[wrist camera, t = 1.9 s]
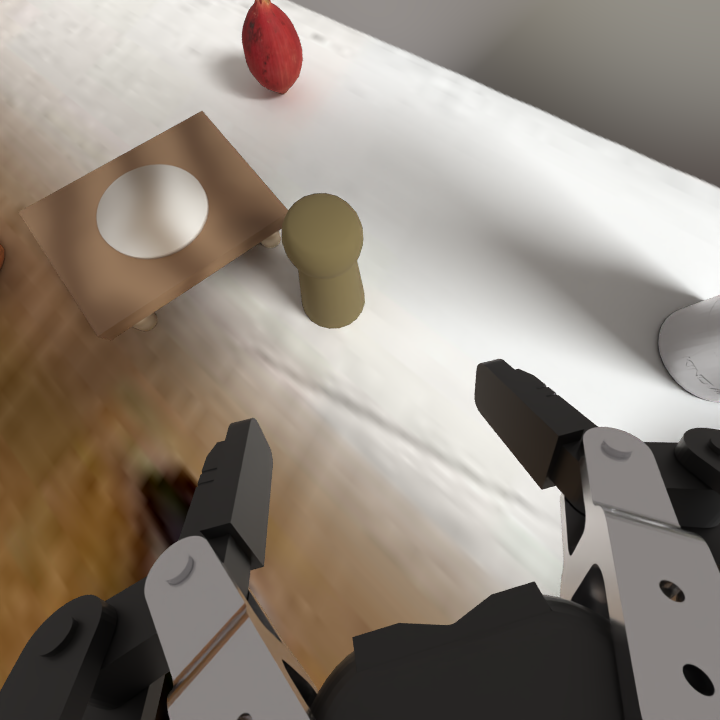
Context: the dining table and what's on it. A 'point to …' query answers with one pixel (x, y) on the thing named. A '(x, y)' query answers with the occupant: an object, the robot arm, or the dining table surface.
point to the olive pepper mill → (326, 258)
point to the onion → (271, 46)
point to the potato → (1, 256)
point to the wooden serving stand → (154, 224)
